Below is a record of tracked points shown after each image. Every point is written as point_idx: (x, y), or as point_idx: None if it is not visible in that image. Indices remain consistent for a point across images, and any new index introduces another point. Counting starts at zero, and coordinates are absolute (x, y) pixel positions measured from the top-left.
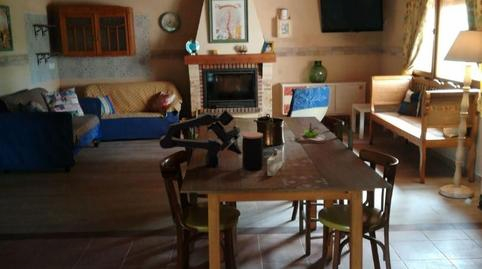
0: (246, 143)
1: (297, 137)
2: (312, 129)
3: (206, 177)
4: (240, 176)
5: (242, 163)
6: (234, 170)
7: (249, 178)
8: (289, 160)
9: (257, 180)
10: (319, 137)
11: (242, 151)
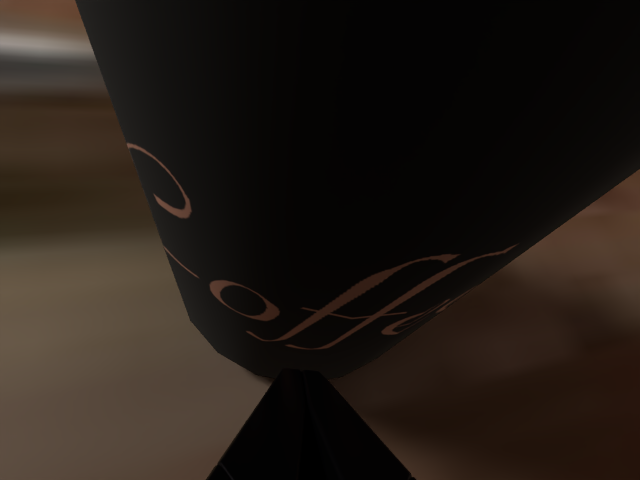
0: None
1: None
2: None
3: None
4: (591, 346)
5: (353, 368)
6: (443, 471)
7: (591, 261)
8: (17, 5)
9: (595, 204)
10: None
11: (440, 302)
